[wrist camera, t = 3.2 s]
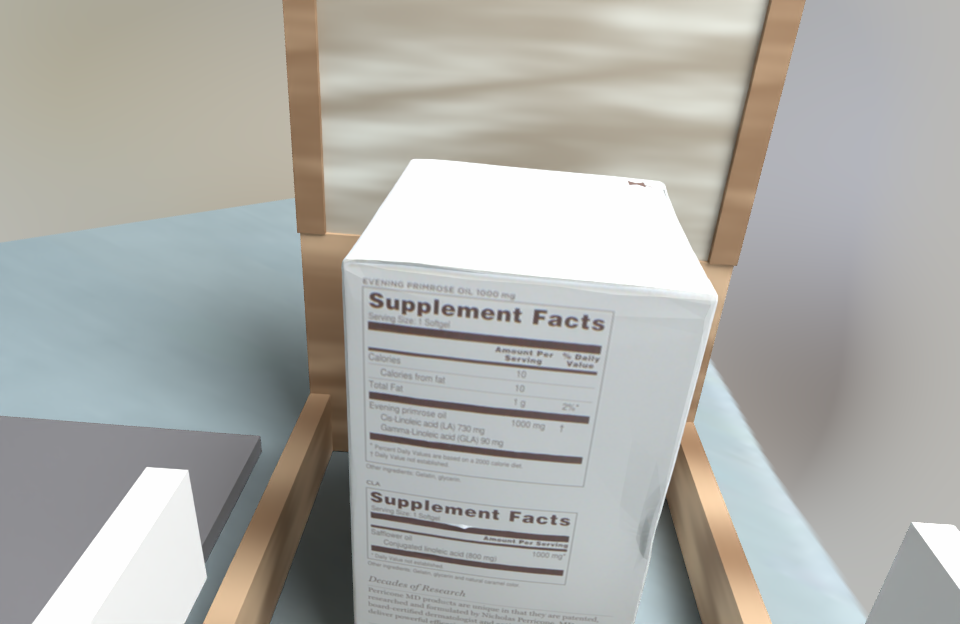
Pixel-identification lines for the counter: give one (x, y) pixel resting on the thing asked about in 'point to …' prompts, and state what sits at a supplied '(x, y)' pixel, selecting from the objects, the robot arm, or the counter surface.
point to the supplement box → (515, 392)
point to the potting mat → (96, 493)
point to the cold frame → (524, 144)
